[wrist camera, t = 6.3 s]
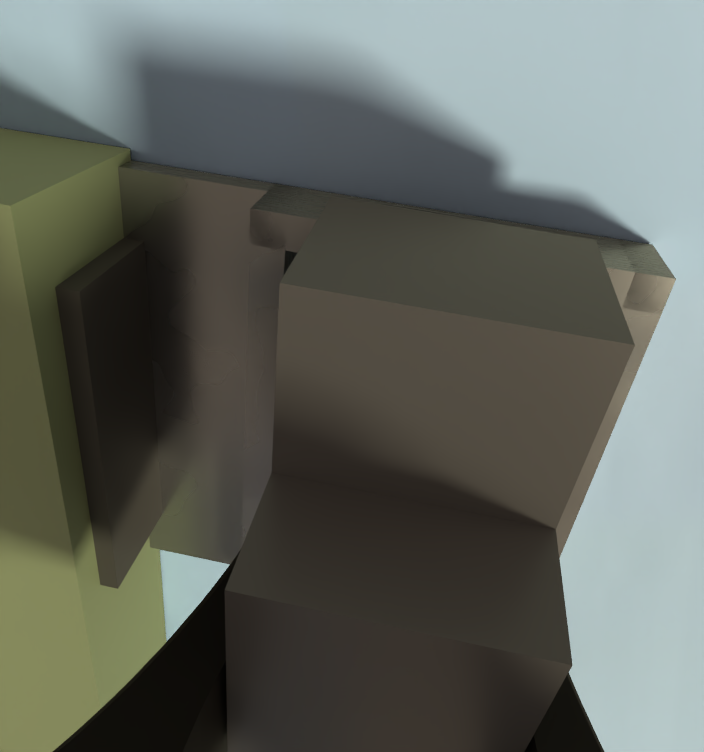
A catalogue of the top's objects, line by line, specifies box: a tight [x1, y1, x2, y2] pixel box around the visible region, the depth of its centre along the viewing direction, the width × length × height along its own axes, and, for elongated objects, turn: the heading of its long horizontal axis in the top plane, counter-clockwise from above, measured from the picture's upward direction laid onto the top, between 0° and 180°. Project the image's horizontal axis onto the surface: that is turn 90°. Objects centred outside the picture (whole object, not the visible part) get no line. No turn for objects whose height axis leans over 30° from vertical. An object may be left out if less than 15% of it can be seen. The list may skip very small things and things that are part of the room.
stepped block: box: [225, 197, 635, 752], centre depth 10 cm, size 7×4×5 cm, turn 173°
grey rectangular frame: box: [118, 160, 676, 564], centre depth 13 cm, size 10×9×2 cm
